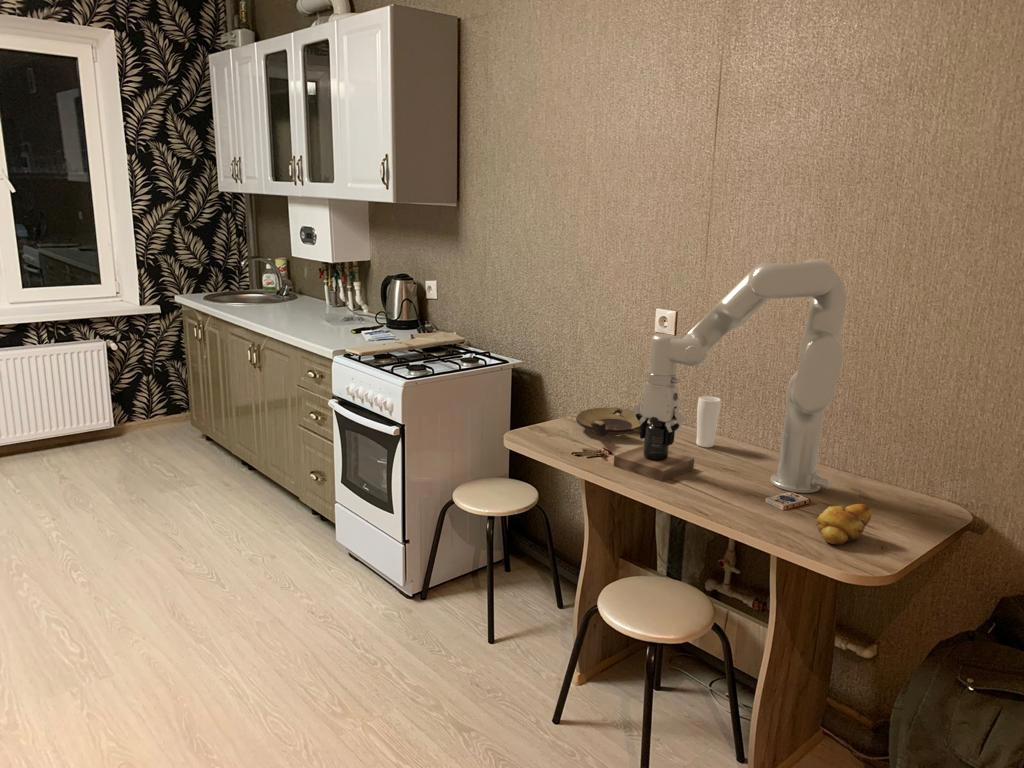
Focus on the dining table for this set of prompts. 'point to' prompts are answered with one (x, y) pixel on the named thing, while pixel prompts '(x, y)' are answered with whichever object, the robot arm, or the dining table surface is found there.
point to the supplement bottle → (655, 440)
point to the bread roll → (843, 523)
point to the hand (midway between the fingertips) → (656, 440)
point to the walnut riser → (653, 464)
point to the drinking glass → (707, 420)
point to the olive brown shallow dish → (608, 421)
